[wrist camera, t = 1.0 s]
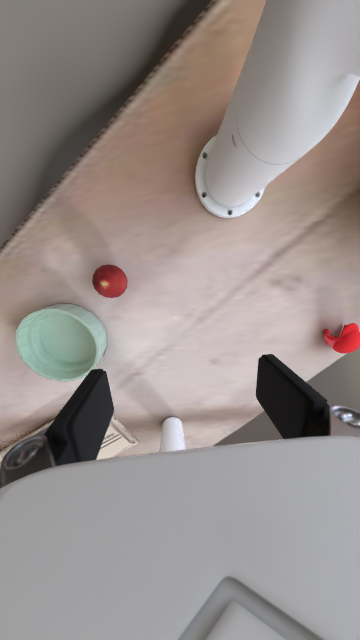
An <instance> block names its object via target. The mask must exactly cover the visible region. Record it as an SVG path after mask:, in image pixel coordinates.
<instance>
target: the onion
mask: <svg viewBox="0 0 360 640" xmlns="http://www.w3.org/2000/svg"><path fill="white" fill-rule="evenodd" d="M127 282H128V281H127V278H126V275H125V274H124V272H123V271H122V270H121V269H120V268H118V267H117V266H113V265H103V266H101V267H99V268H98V269H96V271H95V273H94V274H93V281H92V283H93V286H94V288H95V290H96V291H97V292H98V293H99V294H100V295H102V296H104V297H109V298H114V297H119V296H120V295H122V294H123V293H124V292H125V290H126V288H127Z"/></svg>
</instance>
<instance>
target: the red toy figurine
mask: <svg viewBox="0 0 360 640" xmlns="http://www.w3.org/2000/svg"><path fill="white" fill-rule="evenodd" d="M324 340H325V342H326V343H327V344H328V345H329V346H330V347H332V348H333V349H334V350H335V351H337V352H339V353H350V352H353V351H355V350H356V349H358V348H359V347H360V332H359V327H358V325H357V324H355V323H351V324H349V325H344V328H343V331H342V333H341V335H340V337H333V336H331V335H330V334H329V330H328V329H325V331H324Z"/></svg>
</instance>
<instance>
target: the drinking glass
mask: <svg viewBox="0 0 360 640" xmlns="http://www.w3.org/2000/svg"><path fill="white" fill-rule="evenodd" d="M185 449H186V446H185V440H184V434H183V426H182V422H181V420H180V419H178V418H176V417H170V418H167V419H166V420H165V421H164V422H163V424H162V435H161V442H160V450H159V452H167V451H176V450H185Z"/></svg>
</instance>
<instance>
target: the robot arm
mask: <svg viewBox="0 0 360 640" xmlns="http://www.w3.org/2000/svg"><path fill="white" fill-rule="evenodd" d="M359 79H360V0H266V3H265V6H264V9H263V12H262V15H261V18H260V21H259V24H258V27H257V30H256V33H255V35H254V38H253V41H252V44H251V47H250V49H249V52H248V55H247V58H246V60H245V63H244V66H243V68H242V71H241V74H240V76H239V79H238V82H237V84H236V87H235V90H234V92H233V95H232V98H231V100H230V102H229V103H228V104H227V111H226V113H225V116H224V119H223V121H222V124H221V127H220V129H219V132H218V134H217V135H215V136H214V137H213V138H211V139H210V141H209V142H208V143H207V144H206V145H205V147H204V148H203V150H202V151H201V154H200V156H199V158H198V162H197V165H196V171H195V185H196V191H197V194H198V197H199V199H200V201H201V203H202V204H203V205H204V207H205V208H206V209H207V210H208V211H209V212H211V213H212V214H214V215H216V216H218V217H221V218H235V217H238V216H241V215H243V214H244V213H246V212H248V211H249V210H250V209H251V208H253V207H254V206H255V204H256V203H257V202H258V201H259V199H260V198H261V196H262V194H263V192H264V189H265V186H266V185H267V184H268V183H270V182H271V181H272V180H273V179H275V178H276V177H277V176H278V175H280V174H281V173H282V172H283V171H285V170H286V169H287V168H288V167H290V166H291V165H292V164H293V163H295V162H296V161H297V160H298V159H299V158H301V157H302V156H303V155H304V154H306V153H307V152H308V151H309V150H310V149H312V148H313V147H314V146H315V145H316V144H318V143H319V142H320V141H321V140H322V139H323V138H324V137H325V136H326V135H327V133H328V132H329V131H330V130H331V129H332V127H333V126H334V125H335V124H336V122H337V121H338V119H339V118H340V116H341V115H342V113H343V111H344V110H345V108H346V107H347V105H348V103H349V101H350V99H351V97H352V95H353V93H354V91H355V88H356V86H357V84H358V82H359ZM203 157H205V159H204V158H203ZM202 195H204V196H205V197H202ZM255 195H256V196H255ZM228 212H229V213H230V215H228ZM256 397H257V400H258V401H259V403H260V404H261V406H262V407H263V409H264V410H265V412H266V413H267V415H268V416H269V417H270V419H271V421H272V422H273V424H274V425H275V427H276V428H277V430H278V431H279V433H280V434H281V436H282V437H283V439H280V440H271V441H261V442H251V443H241V444H231V445H222V446H213V447H203V448H194V449H185V450H176V451H167V452H158V453H149V454H141V455H132V456H123V457H115V458H107V459H99V460H96V459H97V456H98V454H99V451H100V448H101V445H102V443H103V440H104V437H105V435H106V432H107V429H108V427H109V424H110V421H111V418H112V416H113V412H114V407H113V402H112V397H111V392H110V387H109V383H108V378H107V373H106V371H103V369H94V370H91V371H90V372H89V374H88V375H87V376H86V378H85V379H84V380H83V382H82V383H81V384H80V386H79V387H78V388H77V390H76V391H75V392H74V394H73V395H72V397H71V398H70V399H69V401H68V402H67V403H66V405H65V406H64V407H63V409H62V410H61V411H60V413H59V414H58V415H57V417H56V418H55V420H54V421H53V422H52V424H51V425H50V426H49V428H48V429H47V431H46V432H45V433H44V435H35V436H31V437H29V438H26V439H24V440H23V441H21V442H19V443H18V444H16V445H15V446H14V447H13V448H11V449H10V450H9V451H8V453H7V454H6V455H5V456H4V458H3V459H2V461H1V465H0V640H360V411H359V410H357V409H355V408H352V407H349V406H345V405H333V406H331V407H330V406H329V405H328V404H327V400H326V399H325V398H324V397H323V396H321V395H320V394H319V393H318V392H316V391H315V390H314V389H313V388H312V387H311V386H310V385H308V384H307V383H306V382H305V381H304V380H303V379H301V378H300V377H299V376H298V375H297V374H295V373H294V372H293V371H292V370H291V369H289V368H288V367H287V366H286V365H285V364H284V363H282V362H281V361H280V360H279V359H278V358H276V357H275V356H274V355H273V354H268V355H262V356H261V357H260V358H259V362H258V374H257V387H256Z"/></svg>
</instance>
